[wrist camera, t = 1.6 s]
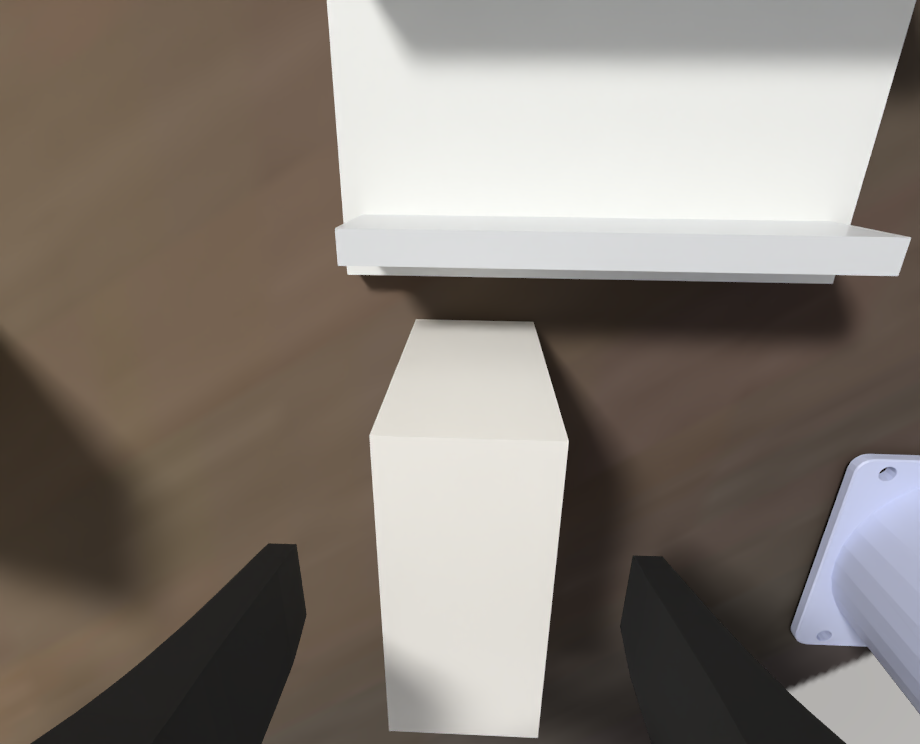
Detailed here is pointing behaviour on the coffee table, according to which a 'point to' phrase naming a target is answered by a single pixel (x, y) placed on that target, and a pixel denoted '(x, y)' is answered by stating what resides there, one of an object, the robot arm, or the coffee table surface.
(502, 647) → the cream rectangular prism
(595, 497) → the coffee table surface
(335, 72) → the dish rack
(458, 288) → the coffee table surface
